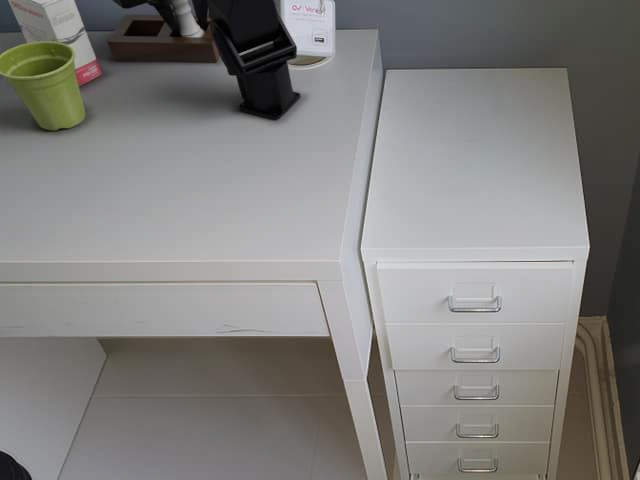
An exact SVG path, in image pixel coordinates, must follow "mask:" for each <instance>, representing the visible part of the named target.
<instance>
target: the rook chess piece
mask: <svg viewBox="0 0 640 480" xmlns="http://www.w3.org/2000/svg"><path fill="white" fill-rule="evenodd" d="M189 1H190V0H171V8H172V11H173V13H174V15H175V17H176V21H177V24H178V27H179V29H180V34H181V37H201V38H203V36H204V34H205V32H204V31H203V30H202V29H201V28H200V26H199V25H197V23H196V21H195V19H194V17H193V16H194V15H193V13H192V6H191V5H190V4H189Z"/></svg>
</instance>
